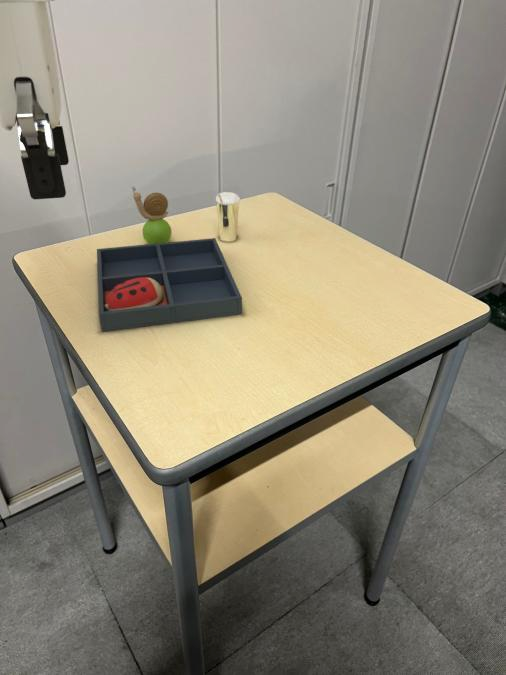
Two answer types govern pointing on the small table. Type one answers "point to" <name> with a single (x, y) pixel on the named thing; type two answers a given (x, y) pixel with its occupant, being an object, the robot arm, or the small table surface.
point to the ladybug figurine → (134, 294)
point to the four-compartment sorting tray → (169, 283)
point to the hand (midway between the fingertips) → (51, 180)
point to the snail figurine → (154, 217)
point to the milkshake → (227, 215)
